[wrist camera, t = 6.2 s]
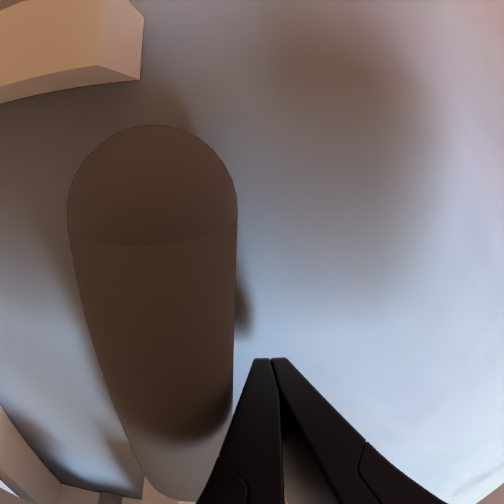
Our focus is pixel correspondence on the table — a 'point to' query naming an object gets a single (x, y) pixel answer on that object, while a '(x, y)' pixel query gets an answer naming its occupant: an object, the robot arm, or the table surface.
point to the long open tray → (48, 80)
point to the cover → (11, 498)
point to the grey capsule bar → (160, 295)
